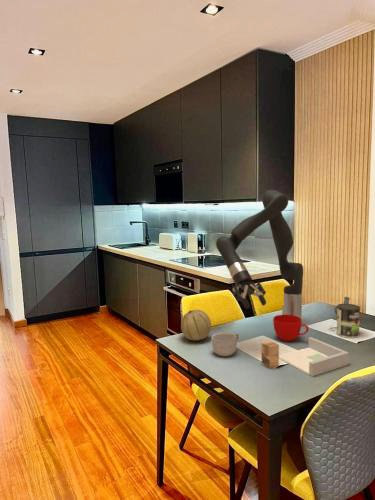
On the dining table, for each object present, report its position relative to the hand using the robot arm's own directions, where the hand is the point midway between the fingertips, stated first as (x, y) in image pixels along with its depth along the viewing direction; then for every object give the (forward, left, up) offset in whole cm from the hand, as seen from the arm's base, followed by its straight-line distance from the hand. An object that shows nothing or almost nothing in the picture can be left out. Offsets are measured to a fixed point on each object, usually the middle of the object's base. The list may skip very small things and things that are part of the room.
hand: (256, 306), depth 151 cm
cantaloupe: (-31, -12, -23) cm, 41 cm away
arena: (+14, +17, -22) cm, 31 cm away
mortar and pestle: (-14, +71, -23) cm, 76 cm away
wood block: (+9, 0, -22) cm, 24 cm away
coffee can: (+2, +54, -23) cm, 58 cm away
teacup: (-10, -8, -23) cm, 26 cm away
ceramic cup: (-7, +26, -23) cm, 35 cm away
